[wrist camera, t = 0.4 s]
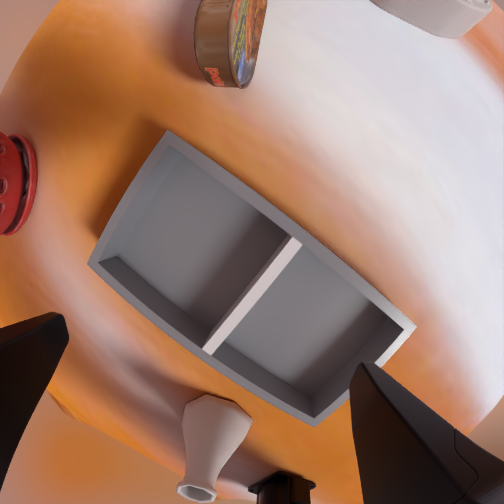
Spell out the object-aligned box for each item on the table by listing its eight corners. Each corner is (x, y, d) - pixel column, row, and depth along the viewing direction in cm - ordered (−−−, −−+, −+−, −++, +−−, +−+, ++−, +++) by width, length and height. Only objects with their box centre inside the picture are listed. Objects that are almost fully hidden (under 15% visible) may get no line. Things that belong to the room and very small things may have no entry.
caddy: (309, 399, 23) (314, 427, 19) (112, 255, 22) (86, 264, 18) (396, 308, 21) (417, 326, 17) (185, 142, 20) (167, 129, 17)
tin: (248, 105, 20) (234, 51, 11) (210, 102, 20) (177, 52, 12) (271, -13, 17) (268, -70, 9) (240, -14, 18) (228, -69, 9)
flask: (227, 449, 25) (213, 518, 15) (171, 419, 25) (139, 485, 15) (266, 417, 24) (261, 496, 14) (203, 382, 24) (172, 458, 14)
